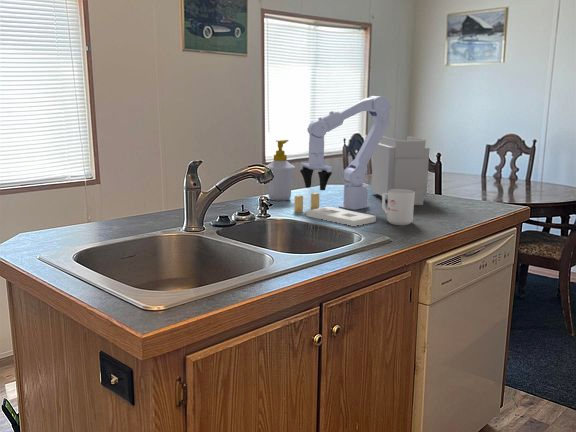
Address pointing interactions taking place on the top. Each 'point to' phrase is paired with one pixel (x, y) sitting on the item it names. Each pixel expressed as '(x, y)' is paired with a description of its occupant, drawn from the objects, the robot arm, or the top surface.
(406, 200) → the mug
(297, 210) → the peg
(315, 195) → the peg
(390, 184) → the light grey angular block
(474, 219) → the top surface
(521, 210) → the top surface
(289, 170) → the soap bottle
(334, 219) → the housing
